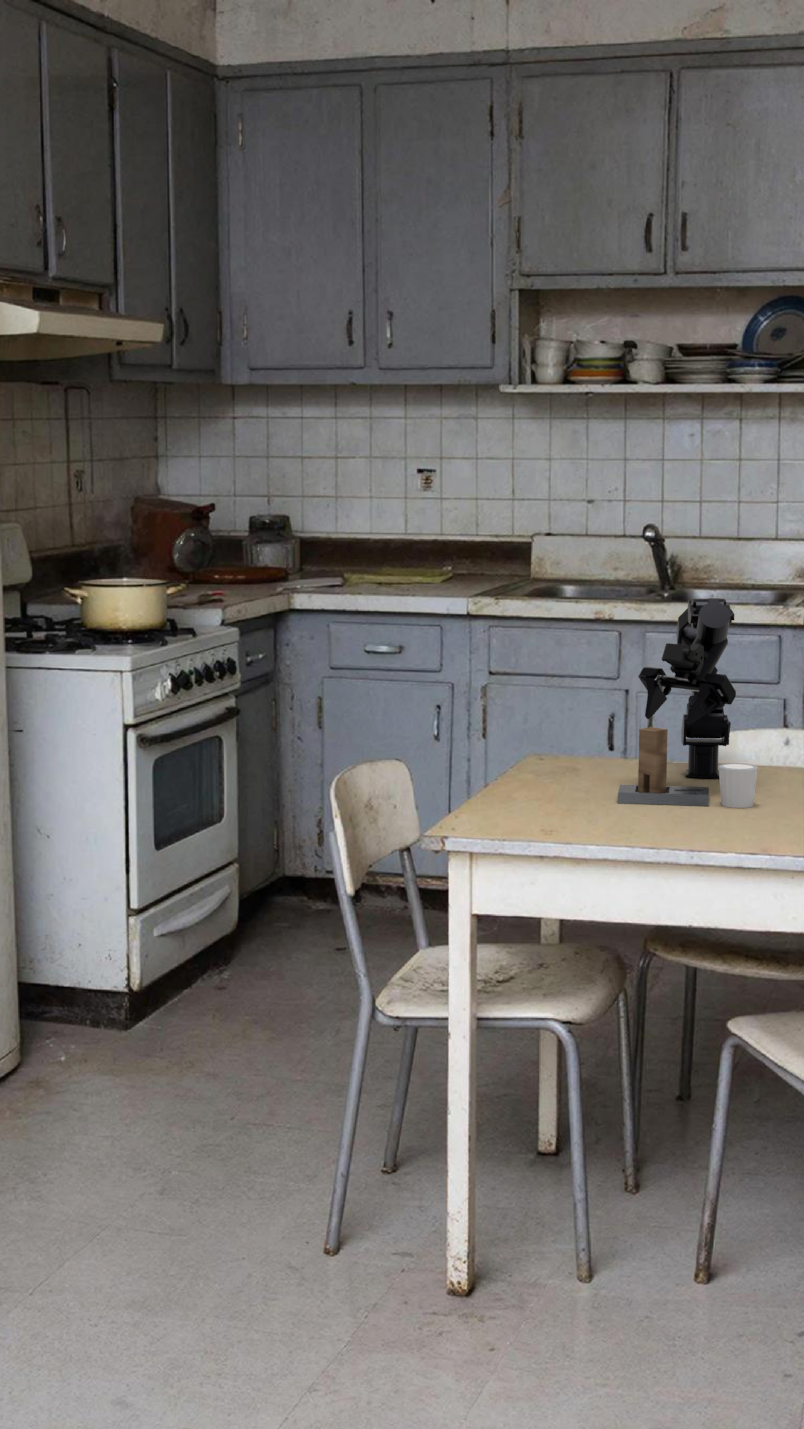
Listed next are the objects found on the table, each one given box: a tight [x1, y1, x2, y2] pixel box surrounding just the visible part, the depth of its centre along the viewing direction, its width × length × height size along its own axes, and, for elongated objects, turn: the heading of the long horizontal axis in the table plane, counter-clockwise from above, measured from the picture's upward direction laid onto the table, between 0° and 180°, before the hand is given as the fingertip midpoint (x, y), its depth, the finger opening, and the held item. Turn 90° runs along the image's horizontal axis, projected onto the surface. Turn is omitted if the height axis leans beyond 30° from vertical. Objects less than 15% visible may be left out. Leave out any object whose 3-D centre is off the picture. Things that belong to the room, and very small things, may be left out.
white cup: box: [718, 762, 758, 809], centre depth 299 cm, size 7×7×7 cm
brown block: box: [637, 726, 669, 793], centre depth 302 cm, size 4×4×13 cm
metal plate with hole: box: [617, 784, 710, 807], centre depth 303 cm, size 8×16×2 cm, turn 80°
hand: (666, 720), depth 308 cm, fingers open, 9 cm apart
